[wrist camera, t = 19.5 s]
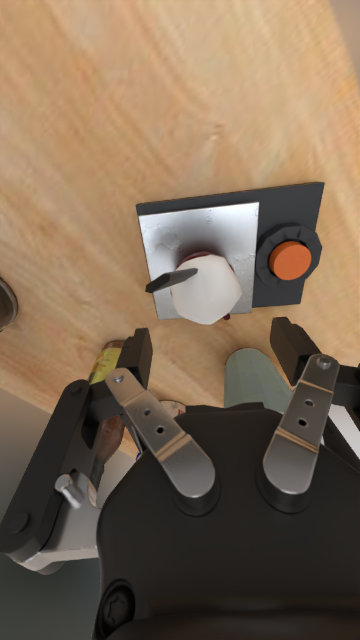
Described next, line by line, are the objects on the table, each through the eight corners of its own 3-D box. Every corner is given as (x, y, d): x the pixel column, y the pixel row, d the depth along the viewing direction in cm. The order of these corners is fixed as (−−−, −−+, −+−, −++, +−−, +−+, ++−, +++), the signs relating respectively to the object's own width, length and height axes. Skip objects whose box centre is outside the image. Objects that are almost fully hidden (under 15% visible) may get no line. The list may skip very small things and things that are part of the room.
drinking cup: (323, 407, 41) (417, 568, 25) (280, 415, 43) (341, 572, 26) (321, 380, 37) (431, 548, 21) (274, 390, 39) (340, 554, 22)
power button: (267, 276, 25) (271, 281, 24) (270, 242, 23) (275, 246, 22) (301, 272, 25) (307, 278, 23) (307, 238, 23) (315, 243, 22)
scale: (158, 310, 31) (155, 322, 28) (137, 203, 24) (132, 207, 21) (297, 298, 29) (308, 310, 27) (320, 181, 22) (337, 182, 20)
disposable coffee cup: (233, 393, 40) (255, 495, 27) (196, 356, 35) (203, 459, 23) (291, 366, 36) (348, 471, 23) (259, 321, 31) (307, 421, 19)
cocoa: (236, 302, 26) (268, 386, 16) (182, 313, 27) (180, 398, 17) (223, 213, 21) (259, 253, 11) (158, 230, 22) (134, 282, 12)
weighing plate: (158, 317, 28) (158, 320, 27) (139, 215, 22) (138, 216, 21) (250, 310, 27) (251, 312, 27) (257, 201, 21) (259, 201, 20)
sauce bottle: (99, 336, 33) (15, 500, 17) (142, 341, 34) (100, 506, 17) (102, 368, 37) (34, 529, 20) (140, 372, 37) (105, 533, 21)
